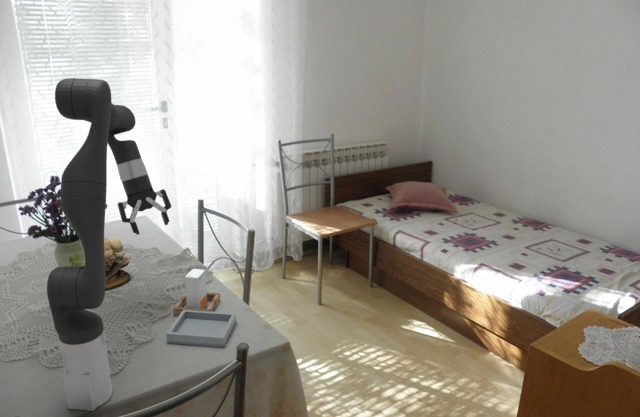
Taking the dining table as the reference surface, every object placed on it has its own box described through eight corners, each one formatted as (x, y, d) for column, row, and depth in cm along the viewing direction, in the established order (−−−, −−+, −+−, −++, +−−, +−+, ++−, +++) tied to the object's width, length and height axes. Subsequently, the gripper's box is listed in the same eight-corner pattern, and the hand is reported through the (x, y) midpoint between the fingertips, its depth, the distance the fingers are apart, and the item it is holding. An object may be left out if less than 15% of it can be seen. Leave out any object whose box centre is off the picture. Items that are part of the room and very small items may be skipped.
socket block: (209, 318, 156) (208, 311, 155) (173, 315, 157) (173, 308, 156) (220, 300, 166) (219, 293, 166) (186, 298, 167) (186, 291, 167)
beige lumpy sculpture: (126, 269, 186) (121, 225, 181) (138, 282, 178) (134, 236, 172) (72, 283, 176) (66, 236, 170) (83, 297, 167) (76, 248, 161)
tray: (223, 347, 142) (223, 338, 141) (167, 343, 144) (166, 333, 143) (236, 322, 154) (235, 313, 153) (183, 318, 156) (183, 309, 155)
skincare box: (200, 313, 159) (197, 278, 155) (186, 312, 159) (184, 276, 155) (208, 303, 164) (205, 269, 160) (195, 302, 165) (192, 268, 161)
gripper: (110, 183, 145) (130, 238, 147) (160, 169, 151) (178, 222, 154) (108, 184, 152) (126, 237, 154) (156, 170, 158) (173, 221, 160)
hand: (152, 229), depth 154 cm, fingers open, 8 cm apart
